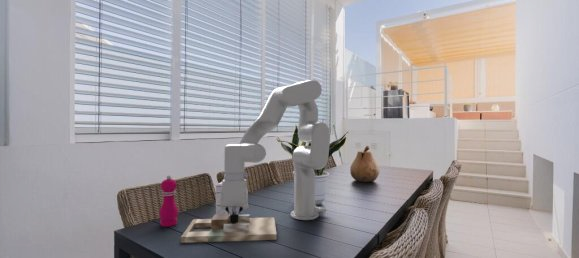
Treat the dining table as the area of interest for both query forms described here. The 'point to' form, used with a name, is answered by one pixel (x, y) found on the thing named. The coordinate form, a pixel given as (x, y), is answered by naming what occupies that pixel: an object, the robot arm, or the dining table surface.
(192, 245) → the dining table surface
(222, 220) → the walnut block
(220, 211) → the syrup box
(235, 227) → the trap board
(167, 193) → the pepper mill
